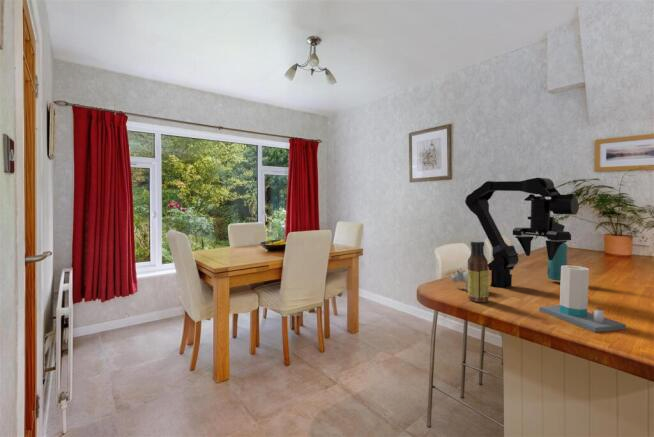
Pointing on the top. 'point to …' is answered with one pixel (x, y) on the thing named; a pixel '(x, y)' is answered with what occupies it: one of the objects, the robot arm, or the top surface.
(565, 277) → the vase
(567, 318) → the pin plate
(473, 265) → the sauce bottle
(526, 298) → the top surface
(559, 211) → the robot arm
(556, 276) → the beverage bottle
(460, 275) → the chubby cartoon animal
